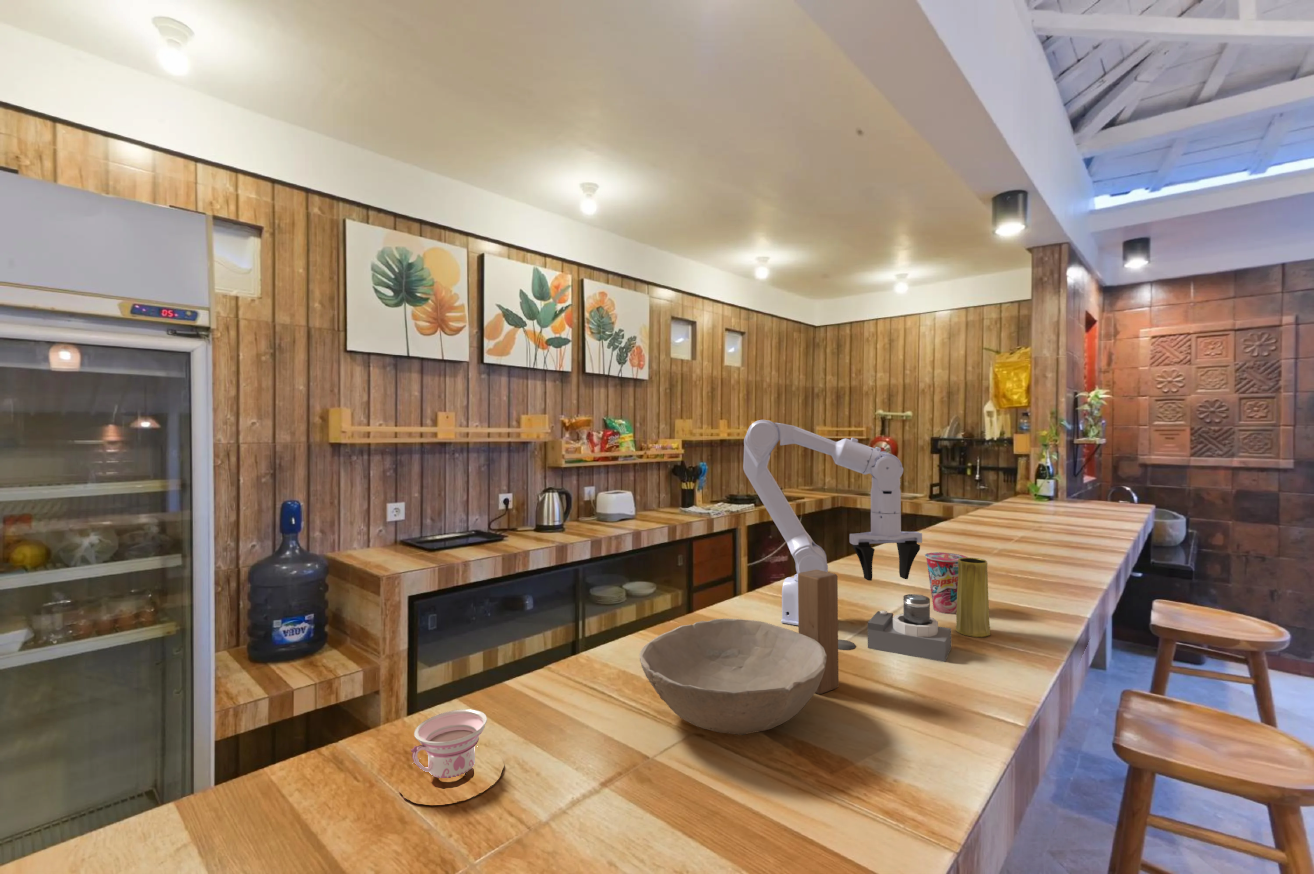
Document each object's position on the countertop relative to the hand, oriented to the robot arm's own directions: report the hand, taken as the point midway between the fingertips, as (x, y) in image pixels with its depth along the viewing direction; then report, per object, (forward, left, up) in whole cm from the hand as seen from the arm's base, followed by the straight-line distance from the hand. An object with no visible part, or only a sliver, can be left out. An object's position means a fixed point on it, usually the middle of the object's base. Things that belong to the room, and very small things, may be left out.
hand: (886, 578), depth 122 cm
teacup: (-32, -81, -10) cm, 88 cm away
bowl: (-10, -51, -10) cm, 53 cm away
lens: (+8, -10, -6) cm, 14 cm away
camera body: (+6, -10, -10) cm, 15 cm away
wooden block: (-5, -34, -10) cm, 36 cm away
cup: (+9, +18, -10) cm, 23 cm away
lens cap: (-5, -15, -10) cm, 19 cm away
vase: (+15, +5, -10) cm, 19 cm away
